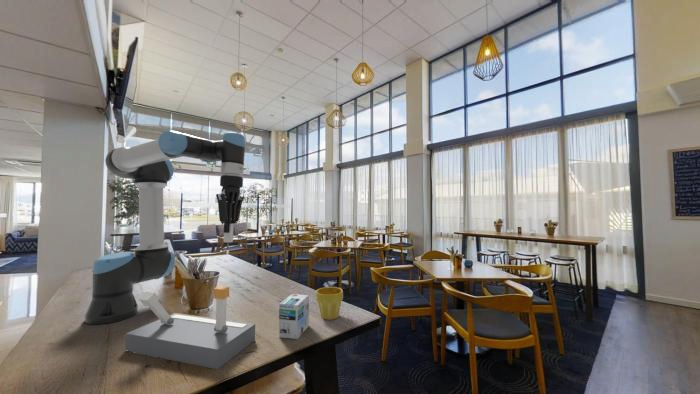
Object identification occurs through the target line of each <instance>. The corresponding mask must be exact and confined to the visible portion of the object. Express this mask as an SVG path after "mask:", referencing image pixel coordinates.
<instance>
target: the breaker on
mask: <svg viewBox="0 0 700 394" xmlns="http://www.w3.org/2000/svg"><path fill="white" fill-rule="evenodd" d="M138 301H139V302H141V304H143V306H146V307H148V308H149V309H150V310H151V311H152V312H153V313H154V315H155V316H156V317H157V318H158V320H159V319H160V320H161V323H164V324H172V323H173V322H174V319H173V318H171V316H170V315H171V314H169V313H168V311H167V310H166V309H165V308H164V306H163V305H162V304H161V303H160V298H159V296H158V295H157V294H156V292H152V291H151V292H149V291H146V292H145V293H144V294H143V295H142V296H140V298H139V299H138Z"/></svg>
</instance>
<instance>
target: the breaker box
mask: <svg viewBox="0 0 700 394" xmlns="http://www.w3.org/2000/svg"><path fill="white" fill-rule="evenodd" d="M169 315H170V316H171V318H173V319H174V322H173V323H172V324H164V323H161V320H160V319H159V318H158V319H157V320H155V321H152V322H150V323H148V324H145V325H143V326H140V327H138V328H136V329H133V330H131V331H128V332H126V333H125V350H128V351H132V352H135V353H134V354H137V353H138V354H139V355H141V356H142V355H144V356H148V357H153V356H156V357H155V358H158V357H160V358H159V359H163V358H164V359H163V360H168V361H174V362H180V363H184V364H188V365H195V366H199V367H203V368H207V369H209V368H210V369H214V370H218V369H221V367H222V366H224V365H225V364H226V363H228V362H229V361H230V360H231V359H233V358H234V357H235V356H236V355H238V354H239V353H241V352H242V351H243V350H245V348H247V347H249V345H251V344H252V343H254V342H255V341H256V323H252V322H251V323H250V322H245V321H244V322H243V321H236V320H230V319H226V326H227V327H228V329H227V331H226V332H225V333H223V332H216V331H214V327H215V326H216V317H207V316H200V315H192V314H186V313H185V314H184V313H178V312H173V313H172V314H169ZM132 352H131V353H132Z"/></svg>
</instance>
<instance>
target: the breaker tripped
mask: <svg viewBox="0 0 700 394" xmlns="http://www.w3.org/2000/svg"><path fill="white" fill-rule="evenodd" d="M229 297H230V286H224V285H219V286H217V287H214V288H213V299H215V300H216V301H215V305H216V307H215V308H216V309H215V318H216V326H215V327H214V331H216V332H223V333H225V332H226V331H227V329H228V327H227V326H226V320H227V298H229Z"/></svg>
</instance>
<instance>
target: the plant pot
mask: <svg viewBox="0 0 700 394" xmlns="http://www.w3.org/2000/svg"><path fill="white" fill-rule="evenodd" d="M343 299H344V291H343V289H342V288H341V287H336V286H326V287H320V288H318V289H316V290H315V301H316V302H317V303H318V309H319V313H320V316H321V317H320V318H321V319H323V320H335V319H337V318H338V317H339V316H340V309H341V305H342V304H341V303H342V301H343Z"/></svg>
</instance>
